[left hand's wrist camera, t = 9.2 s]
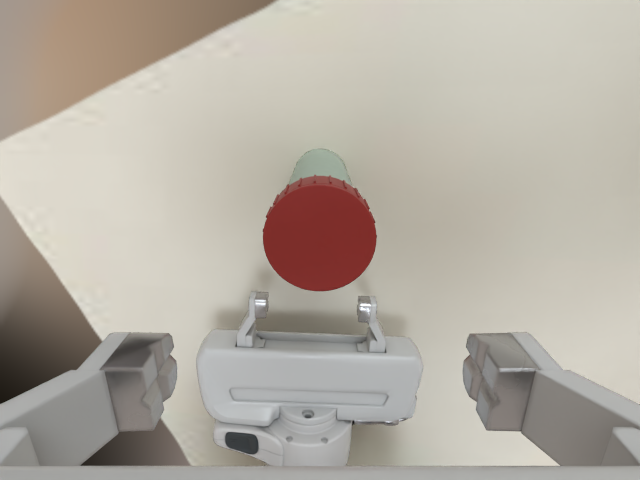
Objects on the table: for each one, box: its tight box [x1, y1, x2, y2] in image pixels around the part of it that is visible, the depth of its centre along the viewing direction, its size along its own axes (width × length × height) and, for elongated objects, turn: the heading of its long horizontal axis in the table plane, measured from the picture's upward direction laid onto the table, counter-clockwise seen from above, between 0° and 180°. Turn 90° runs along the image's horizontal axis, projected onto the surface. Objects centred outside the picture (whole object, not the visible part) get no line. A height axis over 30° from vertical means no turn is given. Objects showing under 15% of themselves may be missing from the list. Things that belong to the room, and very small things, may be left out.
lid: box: [263, 175, 377, 291], centre depth 20 cm, size 6×6×2 cm
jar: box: [289, 149, 352, 186], centre depth 27 cm, size 5×5×17 cm
